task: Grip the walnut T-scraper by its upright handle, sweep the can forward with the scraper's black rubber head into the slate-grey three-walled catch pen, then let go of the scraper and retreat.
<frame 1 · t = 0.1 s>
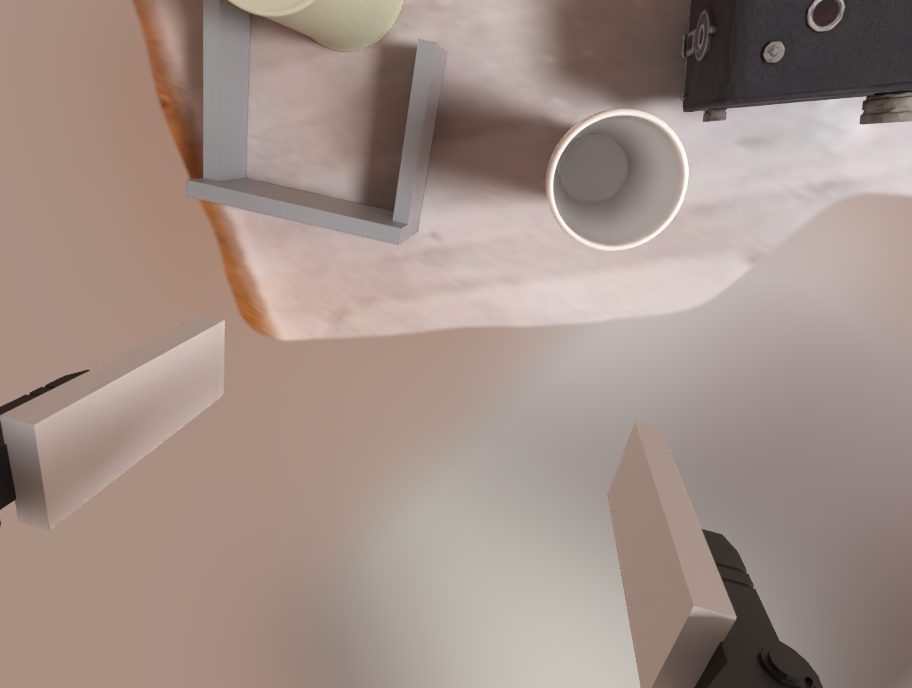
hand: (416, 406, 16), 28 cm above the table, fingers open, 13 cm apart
drinking glass: (591, 168, 39), on the table
camera: (783, 44, 34), on the table
catch pen: (331, 118, 40), on the table
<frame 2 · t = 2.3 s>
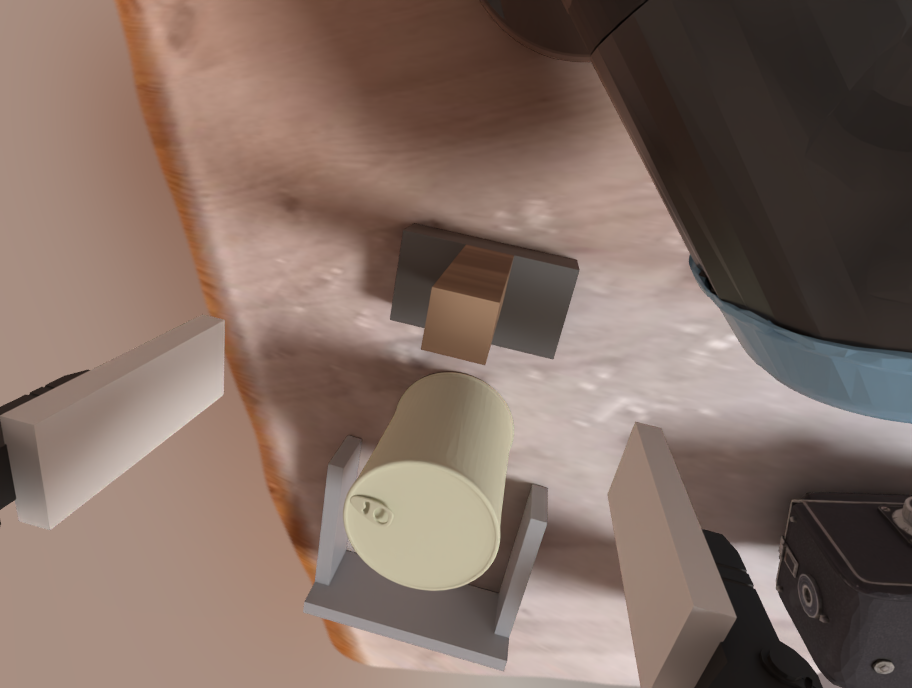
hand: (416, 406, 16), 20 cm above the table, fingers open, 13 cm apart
scraper: (489, 262, 35), on the table
can: (454, 424, 40), on the table
camera: (868, 518, 37), on the table
catch pen: (433, 519, 43), on the table
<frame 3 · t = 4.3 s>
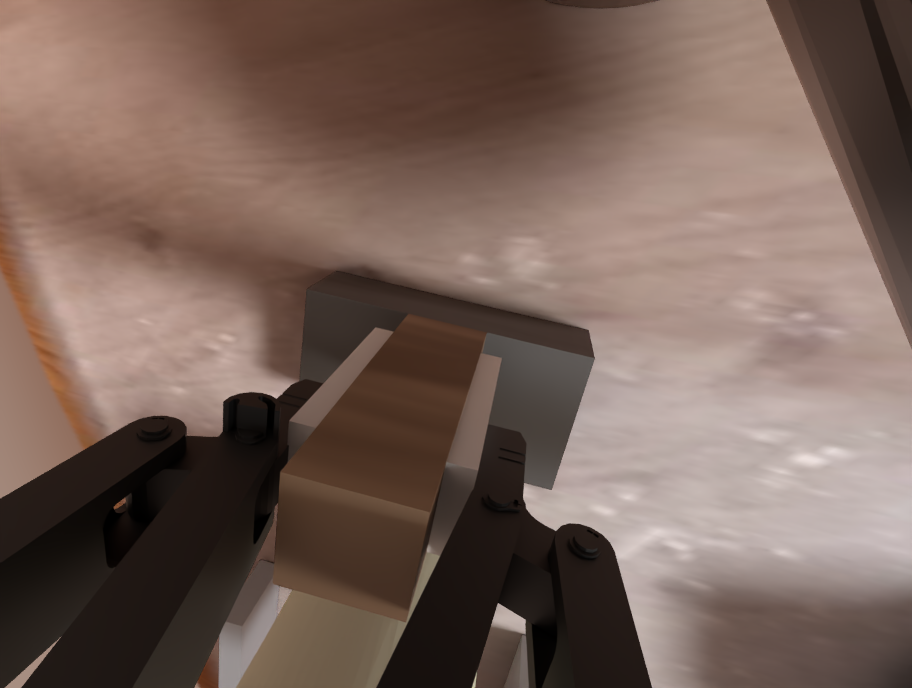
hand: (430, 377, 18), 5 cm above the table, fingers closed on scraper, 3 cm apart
scraper: (453, 332, 22), on the table, touching gripper
can: (409, 551, 28), on the table
catch pen: (384, 670, 31), on the table
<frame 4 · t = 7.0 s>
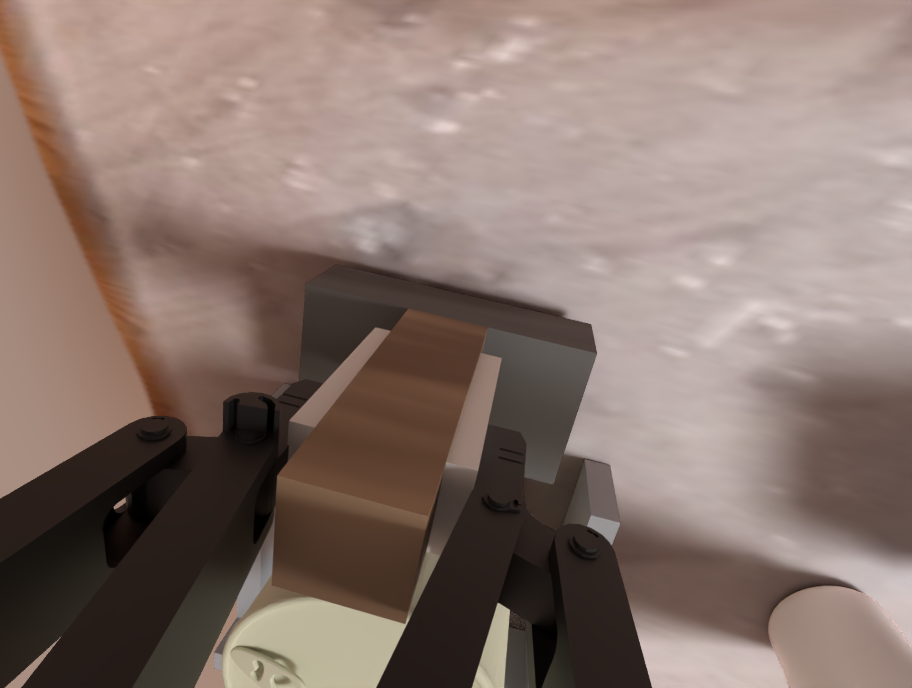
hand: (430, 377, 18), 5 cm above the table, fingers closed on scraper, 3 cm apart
scraper: (454, 326, 22), point 1 cm above the table, touching can, gripper
drinking glass: (820, 616, 26), on the table
can: (434, 479, 27), on the table, touching scraper
catch pen: (423, 517, 27), on the table
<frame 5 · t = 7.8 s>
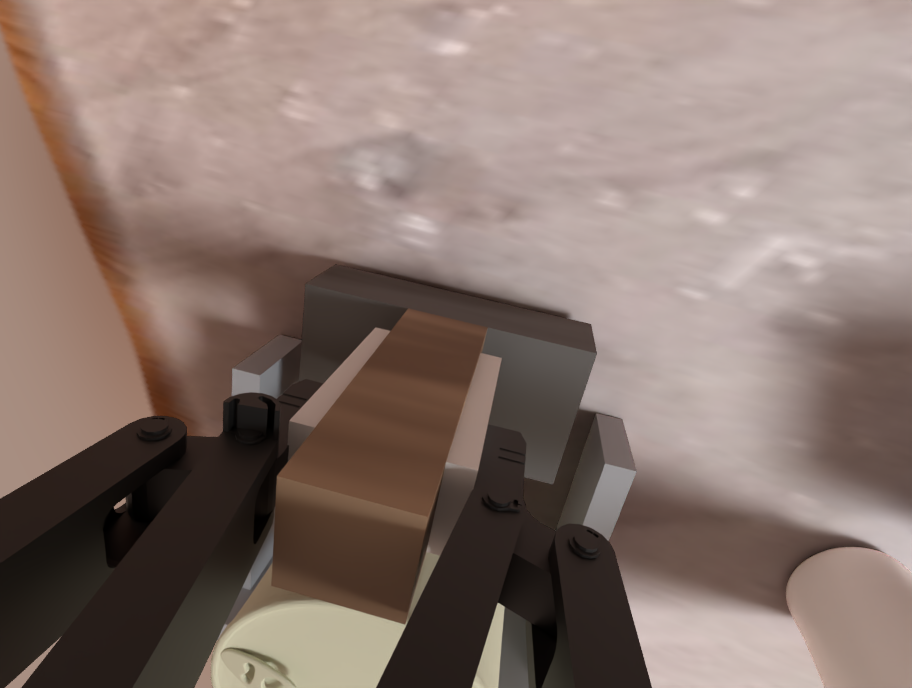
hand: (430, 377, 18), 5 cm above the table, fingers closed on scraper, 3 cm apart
scraper: (454, 326, 22), point 1 cm above the table, touching gripper
drinking glass: (840, 581, 25), on the table
can: (428, 481, 26), on the table
catch pen: (425, 479, 26), on the table
when the fingers open (5 cm above the table, at t = 9.5 s): scraper stays where it is, on the table.
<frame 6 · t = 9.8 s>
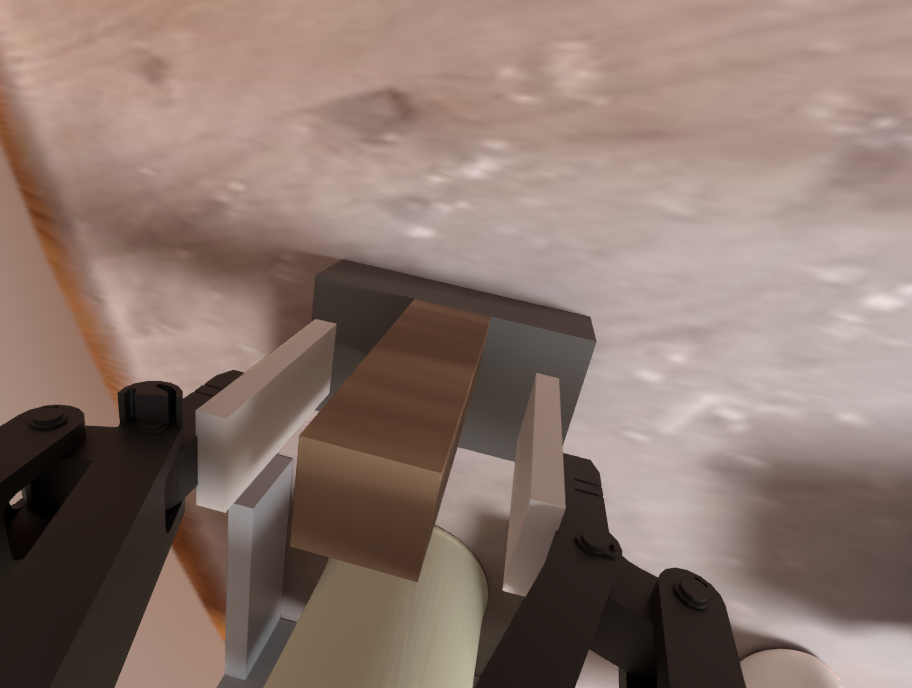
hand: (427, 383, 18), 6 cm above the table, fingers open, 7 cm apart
scraper: (458, 319, 23), on the table
drinking glass: (777, 675, 27), on the table
can: (407, 579, 29), on the table
catch pen: (404, 578, 29), on the table
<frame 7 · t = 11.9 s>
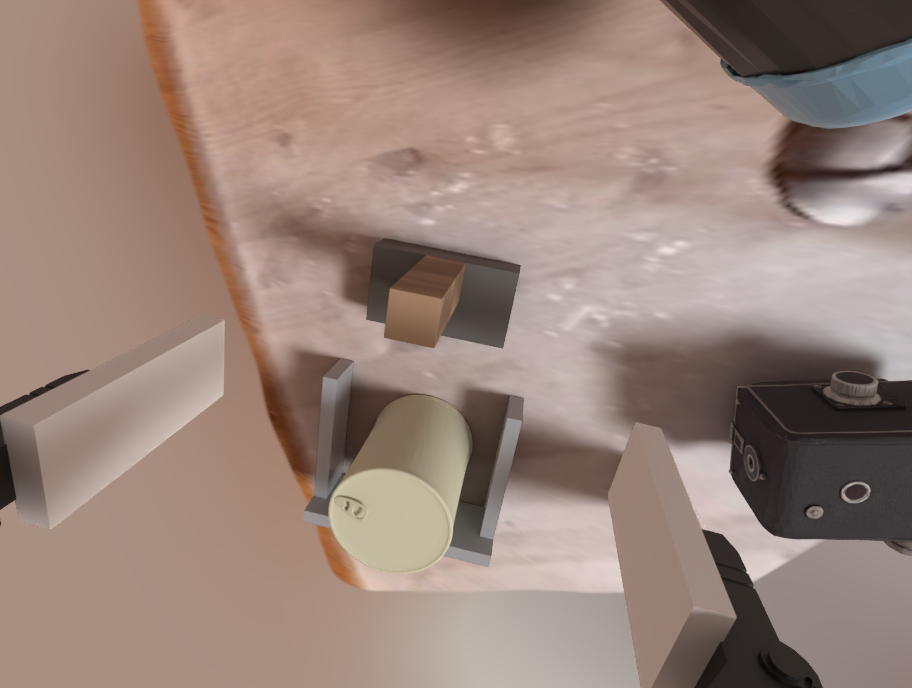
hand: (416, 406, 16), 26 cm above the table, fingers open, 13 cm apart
scraper: (449, 269, 41), on the table
can: (423, 438, 47), on the table
camera: (811, 410, 41), on the table
catch pen: (421, 436, 47), on the table
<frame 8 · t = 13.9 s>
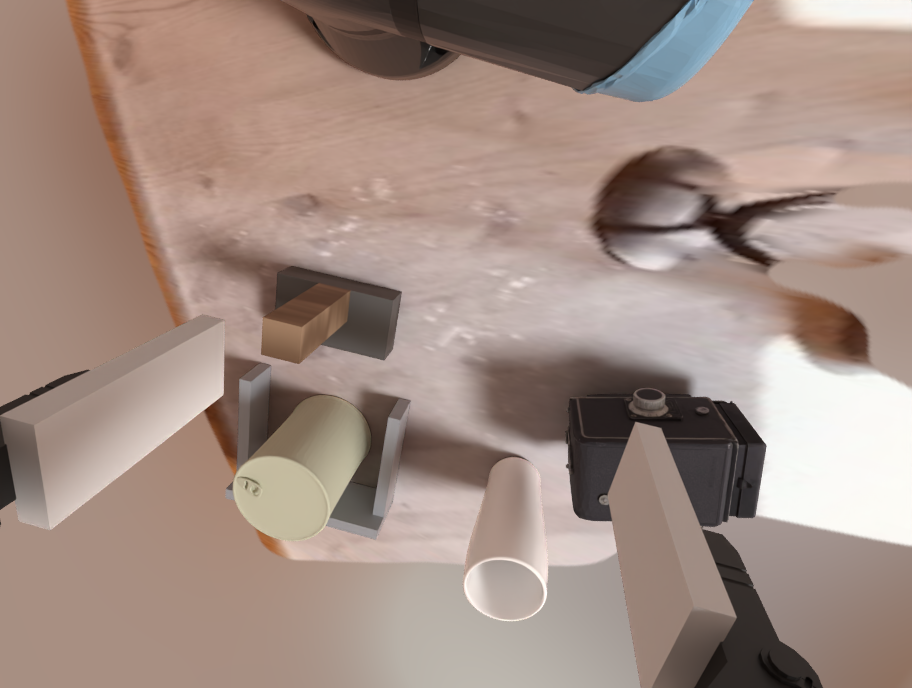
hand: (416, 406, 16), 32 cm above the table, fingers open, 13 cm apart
scraper: (345, 293, 50), on the table
drinking glass: (515, 475, 54), on the table
can: (331, 431, 56), on the table
camera: (640, 417, 50), on the table
catch pen: (329, 430, 56), on the table
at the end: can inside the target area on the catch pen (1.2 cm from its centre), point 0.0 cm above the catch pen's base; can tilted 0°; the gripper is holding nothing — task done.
